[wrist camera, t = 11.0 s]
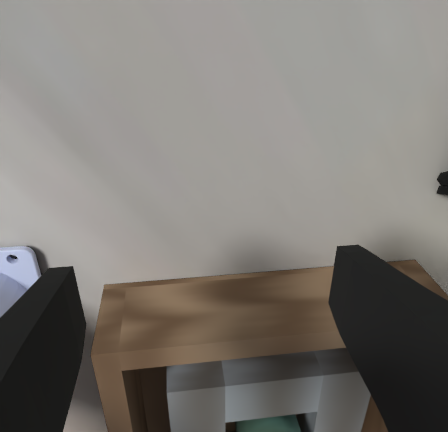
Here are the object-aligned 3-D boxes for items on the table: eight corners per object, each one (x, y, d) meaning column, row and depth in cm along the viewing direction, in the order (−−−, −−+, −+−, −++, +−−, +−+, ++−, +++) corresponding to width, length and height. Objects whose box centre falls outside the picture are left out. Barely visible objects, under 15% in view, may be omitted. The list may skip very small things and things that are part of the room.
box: (143, 499, 33) (141, 574, 29) (104, 284, 22) (90, 354, 18) (356, 469, 35) (383, 536, 31) (415, 259, 24) (468, 317, 20)
